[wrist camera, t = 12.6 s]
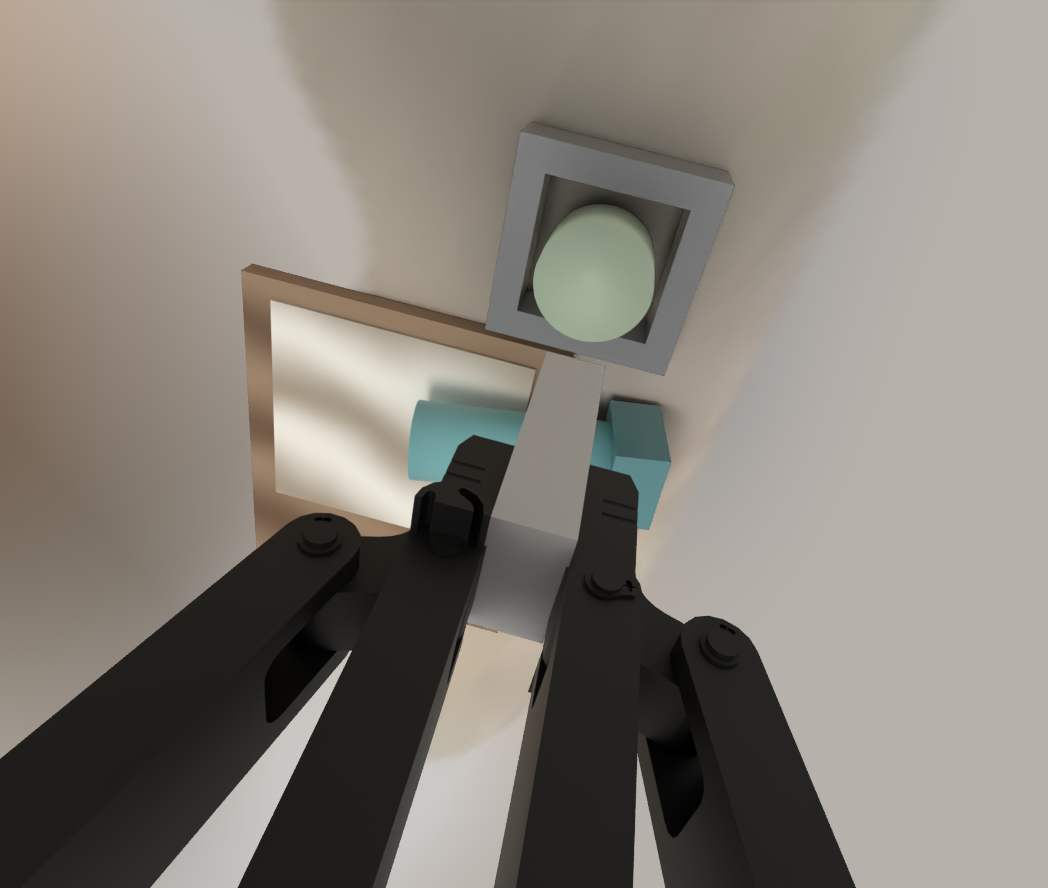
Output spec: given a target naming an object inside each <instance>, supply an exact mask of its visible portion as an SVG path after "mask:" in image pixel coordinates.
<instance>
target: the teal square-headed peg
mask: <svg viewBox="0 0 1048 888" xmlns="http://www.w3.org/2000/svg"><path fill="white" fill-rule="evenodd" d="M525 415H526V412H521V411H513V410H504V409H496V408H487V407H479V406H470V405H461V404H453V403H444V402H436V401H427V400H418V402H417V404H416V407H415V410H414V414H413V419H412V425H411V431H410V438H409V448H408V477H409V479H410V480H415V481H424V482H441V481H442V479H443V477H444V474H445V473H446V470H447V468H448V466H449V464H450V462H451V460H452V458H453V455H454V453H455V451H456V449H457V447H458V445H459V444H461V443H462V442H464V441H465V440H467V439H468V438H469V437H471V436H472V435H477V436H480V437H484V438H488V439H491V440H495V441H499V442H502V443H506V444H510V445H514V446H515V444H516V441H517V438H518V435H519V432H520V429H521V426H522V423H523V421H524V418H525ZM670 464H671V460H670V455H669V449H668V444H667V439H666V434H665V429H664V424H663V419H662V414H661V409H660V406H655V405H647V404H638V403H630V402H621V401H613V400H610V405H609V409H608V413H607V417H606V421H599V420H597V421H596V427H595V434H594V440H593V446H592V453H591V459H590V465H594V466H597V467H601V468H605V469H609V470H612V471H616V472H620V473H623V474H627V475H630V476H631V478H632V480H633V482H634V484H635V486H636V488H637V490H638V492H639V499H638V511H637V512H638V522H637V529H646V530H649V528H650V525H651V522H652V519H653V516H654V513H655V510H656V507H657V504H658V500H659V497H660V494H661V491H662V488H663V485H664V482H665V479H666V476H667V473H668V470H669V467H670Z"/></svg>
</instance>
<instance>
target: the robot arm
mask: <svg viewBox="0 0 1048 888" xmlns="http://www.w3.org/2000/svg"><path fill="white" fill-rule="evenodd" d="M604 370H605V366H602V365H598V364H594V363H590V362H586V361H583V360H579V359H575V358H571V357H568V356H564V355H560V354H556V353H552V352H549V351H547V353H546V356H545V359H544V362H543V365H542V367H541V370H540V373H539V376H538V379H537V382H536V385H535V388H534V391H533V394H532V397H531V400H530V403H529V406H528V409H527V412H526V415H525V418H524V421H523V423H522V426H521V429H520V432H519V435H518V438H517V441H516V444H515V446H514V445H510V444H506V443H502V442H499V441H495V440H491V439H488V438H484V437H480V436H477V435H472V436H471V437H469V438H468V439H467V440H465V441H464V442H462V443H461V444H459V445H458V447H457V449H456V451H455V453H454V455H453V458H452V460H451V462H450V464H449V466H448V468H447V470H446V473H445V474H444V477H443V479H442V481H441V482H433V483H431V484H429V485H427V486H424V487H422V488H421V489H420V490H419V491H418V493H417V494H416V495H415V497H414V504H413V511H412V519H411V526H410V530H409V531H407V532H405V533H402V534H398V535H394V536H383V537H376V536H361V534H360V533H359V531H358V529H357V527H356V526H355V524H353V523H352V522H350V521H349V520H348V519H346V518H345V517H342V516H338V515H335V514H332V513H312V514H308V515H303V516H300V517H298V518H296V519H294V520H293V521H291V522H289V523H288V524H286V525H285V526H284V527H283V528H281V529H280V530H279V531H278V532H277V533H275V534H274V535H273V536H272V537H270V538H269V539H268V540H267V541H266V542H264V543H263V544H262V545H261V546H259V547H258V548H257V549H256V550H255V551H253V552H252V553H251V554H250V555H248V556H247V557H246V558H245V559H244V560H242V561H241V562H240V563H239V564H237V565H236V566H235V567H234V568H233V569H231V570H230V571H229V572H228V573H227V574H225V575H224V576H223V577H222V578H220V580H218V581H217V582H216V583H214V584H213V585H212V586H211V587H210V588H208V589H207V590H206V591H205V592H203V593H202V594H201V595H200V596H198V597H197V598H196V599H195V600H194V601H192V602H191V603H190V604H189V605H187V606H186V607H185V608H184V609H183V610H181V611H180V612H179V613H178V614H176V615H175V616H174V617H173V618H172V619H170V620H169V621H168V622H167V623H165V624H164V625H163V626H162V627H161V628H159V630H157V631H156V632H155V633H153V634H152V635H151V636H150V637H148V638H147V639H146V640H145V641H144V642H142V643H141V644H140V645H139V646H137V647H136V648H135V649H134V650H133V651H131V652H130V653H129V654H128V655H126V656H125V657H124V658H123V659H122V660H120V661H119V662H118V663H117V664H115V665H114V666H113V667H112V668H111V669H109V670H108V671H107V672H106V673H104V674H103V675H102V676H101V677H100V678H99V679H97V680H96V681H95V682H94V683H92V684H91V685H90V686H89V687H88V688H86V689H85V690H84V691H83V692H81V693H80V694H79V695H78V696H76V697H75V698H74V699H73V700H71V701H70V702H69V703H68V704H67V705H65V706H64V707H63V708H62V709H61V710H59V711H58V712H57V713H56V714H55V715H53V716H52V717H51V718H50V719H48V720H47V721H46V722H45V723H43V724H42V725H41V726H40V727H39V728H37V729H36V730H35V731H34V732H32V733H31V734H30V735H29V736H28V737H26V738H25V739H24V740H23V741H21V742H20V743H19V744H18V745H17V746H15V747H14V748H13V749H12V750H10V751H9V752H8V753H7V754H6V755H4V756H3V757H2V758H1V759H0V888H150V887H151V886H152V885H153V884H154V882H155V881H156V880H157V879H158V878H159V877H160V875H161V874H162V873H163V872H164V871H165V869H166V868H167V867H168V866H169V865H170V864H171V862H172V861H173V860H174V859H175V858H176V856H177V855H178V854H179V853H180V852H181V851H182V849H183V848H184V847H185V846H186V845H187V844H188V842H189V841H190V840H191V839H192V838H193V836H194V835H195V834H196V833H197V832H198V831H199V829H200V828H201V827H202V826H203V825H204V823H205V822H206V821H207V820H208V819H209V818H210V816H211V815H212V814H213V813H214V812H215V810H216V809H217V808H218V807H219V806H220V805H221V803H222V802H223V801H224V800H225V799H226V797H227V796H228V795H229V794H230V793H231V792H232V790H233V789H234V788H235V787H236V785H237V784H238V783H239V782H240V781H241V780H242V779H243V777H244V776H245V775H246V774H247V773H248V771H249V770H250V769H251V768H252V767H253V765H254V764H255V763H256V762H257V761H258V760H259V758H260V757H261V756H262V755H263V754H264V753H265V751H266V750H267V749H268V748H269V747H270V745H271V744H272V743H273V742H274V741H275V739H276V738H277V737H278V736H279V735H280V734H281V732H282V731H283V730H284V729H285V728H286V727H287V725H288V724H289V723H290V722H291V721H292V720H293V718H294V717H295V716H296V715H297V714H298V712H299V711H300V710H301V709H302V707H304V705H305V704H306V703H307V702H308V700H309V699H310V698H311V697H312V696H313V695H314V694H315V692H316V691H317V690H318V689H319V688H320V686H321V685H322V684H323V683H324V682H325V680H326V679H327V678H328V677H329V676H330V675H331V673H332V672H333V671H334V670H335V669H336V667H337V666H338V665H339V664H340V663H341V662H342V660H343V659H344V658H345V657H346V656H347V654H348V652H349V651H351V650H352V652H351V654H350V656H349V658H348V660H347V663H346V664H345V667H344V669H343V671H342V673H341V675H340V677H339V679H338V681H337V683H336V685H335V687H334V689H333V691H332V693H331V696H330V698H329V700H328V702H327V704H326V706H325V708H324V710H323V712H322V714H321V716H320V718H319V721H318V722H317V725H316V727H315V729H314V731H313V733H312V735H311V737H310V739H309V741H308V743H307V745H306V748H305V749H304V751H303V754H302V756H301V758H300V760H299V762H298V764H297V766H296V768H295V770H294V772H293V774H292V776H291V779H290V781H289V783H288V785H287V787H286V789H285V791H284V793H283V795H282V797H281V799H280V801H279V803H278V805H277V807H276V809H275V811H274V813H273V816H272V818H271V820H270V822H269V824H268V826H267V828H266V830H265V832H264V834H263V836H262V838H261V840H260V842H259V845H258V847H257V849H256V851H255V853H254V855H253V857H252V859H251V861H250V863H249V865H248V867H247V869H246V871H245V873H244V876H243V878H242V880H241V882H240V884H239V886H238V888H386V885H387V881H388V878H389V875H390V872H391V869H392V865H393V862H394V859H395V855H396V853H397V849H398V846H399V843H400V840H401V837H402V833H403V830H404V827H405V824H406V821H407V817H408V814H409V811H410V808H411V805H412V802H413V798H414V795H415V791H416V789H417V786H418V782H419V779H420V776H421V773H422V769H423V766H424V763H425V760H426V757H427V754H428V750H429V747H430V744H431V741H432V738H433V734H434V731H435V728H436V725H437V722H438V718H439V715H440V712H441V709H442V706H443V702H444V699H445V696H446V693H447V690H448V687H449V683H450V680H451V677H452V674H453V671H454V667H455V664H456V661H457V658H458V655H459V651H460V648H461V644H462V640H463V636H464V631H465V628H466V624H467V623H471V624H475V625H478V626H482V627H485V628H489V629H493V630H496V631H500V632H503V633H507V634H510V635H514V636H518V637H521V638H525V639H528V640H532V641H535V642H539V643H543V641H544V645H543V650H542V653H541V656H540V659H539V662H538V665H537V667H536V670H535V673H534V676H533V679H532V682H531V685H530V688H529V691H528V692H530V693H531V699H530V704H529V709H528V714H527V719H526V725H525V730H524V735H523V741H522V745H521V750H520V756H519V761H518V766H517V771H516V776H515V781H514V787H513V792H512V797H511V803H510V807H509V813H508V818H507V823H506V828H505V833H504V839H503V844H502V849H501V854H500V859H499V865H498V870H497V875H496V880H495V885H494V888H633V868H634V837H635V808H636V777H637V776H636V775H637V753H638V757H639V763H640V767H641V772H642V776H643V782H644V786H645V792H646V796H647V801H648V806H649V811H650V816H651V820H652V825H653V830H654V835H655V840H656V844H657V849H658V854H659V859H660V863H661V869H662V874H663V878H664V883H665V888H856V887H855V884H854V882H853V880H852V877H851V875H850V872H849V870H848V868H847V865H846V863H845V860H844V858H843V856H842V854H841V851H840V848H839V846H838V843H837V841H836V839H835V837H834V834H833V831H832V829H831V827H830V824H829V822H828V819H827V817H826V815H825V812H824V810H823V807H822V805H821V803H820V800H819V798H818V795H817V793H816V791H815V788H814V786H813V783H812V781H811V779H810V776H809V774H808V771H807V769H806V767H805V764H804V762H803V759H802V757H801V755H800V752H799V750H798V747H797V745H796V742H795V740H794V738H793V735H792V733H791V730H790V728H789V726H788V723H787V721H786V719H785V716H784V714H783V711H782V709H781V707H780V704H779V702H778V699H777V697H776V694H775V692H774V690H773V687H772V685H771V682H770V680H769V678H768V675H767V673H766V670H765V668H764V666H763V663H762V661H761V658H760V656H759V654H758V651H757V650H756V648H755V646H754V645H753V643H752V642H751V640H750V638H749V637H747V636H746V635H745V634H744V633H743V632H742V631H741V630H740V629H739V628H738V627H736V626H734V625H732V624H731V623H729V622H727V621H725V620H723V619H719V618H715V617H711V616H700V617H694V618H693V619H691V620H689V621H688V622H686V623H685V624H683V623H681V622H680V621H678V620H676V619H674V618H672V617H671V616H669V615H667V614H665V613H664V612H662V611H661V610H659V609H658V608H656V607H655V606H654V605H653V604H652V603H651V602H650V601H649V600H647V599H646V597H645V596H644V594H643V593H642V590H641V586H640V583H639V582H638V580H637V579H636V574H635V568H636V545H637V522H638V512H637V511H638V499H639V492H638V490H637V488H636V486H635V484H634V482H633V480H632V478H631V476H630V475H627V474H623V473H620V472H616V471H612V470H609V469H605V468H601V467H597V466H594V465H590V459H591V453H592V446H593V440H594V434H595V427H596V421H597V415H598V408H599V402H600V395H601V389H602V383H603V376H604ZM544 638H545V640H544Z"/></svg>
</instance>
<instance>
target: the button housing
mask: <svg viewBox="0 0 1048 888" xmlns="http://www.w3.org/2000/svg"><path fill="white" fill-rule="evenodd" d="M551 175H553V176H557V177H561V178H565V179H569V180H573V181H576V182H580V183H584V184H588V185H592V186H596V187H600V188H604V189H608V190H612V191H616V192H620V193H624V194H628V195H632V196H635V197H639V198H643V199H647V200H651V201H655V202H659V203H663V204H667V205H671V206H675V207H679V208H683V209H684V210H683V213H682V216H681V219H680V222H679V225H678V228H677V231H676V234H675V237H674V240H673V243H672V246H671V249H670V252H669V255H668V258H667V261H666V264H665V267H664V270H663V273H662V276H661V279H660V282H659V285H658V288H657V291H656V294H655V297H654V300H653V303H652V306H651V309H650V312H649V315H648V318H647V321H643V320H641V321H640V322H639V323H638V324H637V325H636V326H635V327H634V328H633V329H631V330H630V331H629V332H627V333H625V334H624V335H622V336H620V337H617V338H615V339H612V340H608V341H603V342H585V341H580V340H576V339H573V338H570V337H568V336H566V335H564V334H562V333H561V332H559V331H558V330H556V329H555V328H554V327H553V326H552V325H551V324H550V323H549V322H548V321H547V320H546V319H545V317H544V316H543V315H542V313H541V311H540V309H539V307H538V305H537V303H536V299H535V296H534V292H532V291H528V290H527V287H528V282H529V277H530V273H531V268H532V263H533V259H534V254H535V249H536V244H537V240H538V235H539V230H540V226H541V221H542V216H543V212H544V207H545V202H546V197H547V193H548V188H549V183H550V179H551ZM734 186H735V185H734V182H733V180H732V178H731V176H730V173H729V172H728V171H724V170H720V169H716V168H712V167H708V166H704V165H700V164H696V163H692V162H688V161H684V160H680V159H676V158H672V157H668V156H664V155H660V154H657V153H653V152H649V151H645V150H641V149H637V148H633V147H629V146H625V145H621V144H617V143H613V142H609V141H605V140H601V139H597V138H593V137H589V136H585V135H581V134H577V133H573V132H569V131H565V130H561V129H557V128H553V127H549V126H545V125H541V124H537V123H534V122H531V123H530V124H529V125H527V126H526V127H525V128H524V129H523V130H521V131H520V137H519V142H518V148H517V153H516V159H515V164H514V170H513V176H512V181H511V187H510V192H509V198H508V203H507V209H506V215H505V220H504V226H503V231H502V237H501V242H500V248H499V254H498V259H497V265H496V270H495V276H494V281H493V287H492V292H491V298H490V304H489V309H488V315H487V320H486V326H485V329H487V330H491V331H494V332H498V333H502V334H506V335H510V336H513V337H517V338H521V339H525V340H529V341H532V342H536V343H540V344H544V345H548V346H551V347H555V348H559V349H563V350H567V351H570V352H574V353H578V354H582V355H586V356H589V357H593V358H597V359H601V360H605V361H608V362H612V363H616V364H620V365H624V366H627V367H631V368H635V369H639V370H643V371H646V372H650V373H654V374H658V375H662V376H664V375H665V372H666V370H667V367H668V364H669V362H670V359H671V356H672V353H673V351H674V348H675V345H676V343H677V340H678V337H679V335H680V332H681V329H682V327H683V324H684V321H685V318H686V316H687V313H688V310H689V308H690V305H691V302H692V300H693V297H694V294H695V292H696V289H697V286H698V283H699V281H700V278H701V275H702V273H703V270H704V267H705V265H706V262H707V259H708V257H709V254H710V251H711V248H712V246H713V243H714V240H715V238H716V235H717V232H718V230H719V227H720V224H721V222H722V219H723V216H724V213H725V211H726V208H727V205H728V203H729V200H730V197H731V195H732V192H733V189H734Z"/></svg>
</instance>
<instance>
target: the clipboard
mask: <svg viewBox="0 0 1048 888" xmlns="http://www.w3.org/2000/svg"><path fill="white" fill-rule="evenodd" d="M241 274H242V292H243V310H244V329H245V348H246V365H247V383H248V403H249V420H250V439H251V457H252V476H253V494H254V513H255V530H256V547H257V548H258V547H259V546H261V545H262V544H263V543H264V542H266V541H267V540H268V539H269V538H270V537H272V536H273V535H274V534H275V533H277V532H278V531H279V530H280V529H281V528H283V527H284V526H285V525H286V524H288V523H289V522H291V521H293V520H294V519H296V518H298V517H300V516H303V515H308V514H312V513H332V514H335V515H338V516H342V517H345V518H346V519H348V520H349V521H350V522H352V523H353V524H355V526H356V527H357V529H358V531H359V533H360V534H361V536H376V537H383V536H394V535H398V534H402V533H405V532H407V531H409V530H410V526H411V519H412V511H413V504H414V497H415V495H416V494H417V493H418V491H419V490H420V489H421V488H422V487H424V486H427V485H429V484H431V483H433V482H424V481H415V480H410V479H409V477H408V448H409V438H410V431H411V425H412V419H413V414H414V410H415V407H416V404H417V402H418V400H427V401H436V402H444V403H453V404H461V405H470V406H479V407H487V408H496V409H504V410H513V411H521V412H527V409H528V406H529V403H530V400H531V397H532V394H533V391H534V388H535V385H536V382H537V379H538V376H539V373H540V370H541V367H542V365H543V362H544V359H545V356H546V353H547V351H549V352H552V353H556V354H560V355H564V356H568V357H571V358H572V357H573V354H574V352H570V351H567V350H563V349H559V348H555V347H551V346H548V345H544V344H540V343H536V342H532V341H529V340H525V339H521V338H517V337H513V336H510V335H506V334H502V333H498V332H494V331H491V330H487V329H485V326H486V325H483V324H480V323H476V322H472V321H468V320H464V319H461V318H457V317H453V316H449V315H445V314H442V313H438V312H434V311H430V310H426V309H423V308H419V307H415V306H411V305H407V304H403V303H400V302H396V301H392V300H388V299H384V298H381V297H377V296H373V295H369V294H365V293H362V292H358V291H354V290H350V289H346V288H343V287H339V286H335V285H331V284H327V283H323V282H319V281H316V280H312V279H308V278H304V277H301V276H297V275H293V274H289V273H285V272H282V271H278V270H274V269H270V268H266V267H262V266H259V265H255V264H251V265H250V266H248V267H246V268H245V269H243V270H242V271H241ZM257 548H256V549H257ZM467 625H470V626H474V627H478V628H481V629H485V630H488V631H492V632H496V633H498V631H496V630H493V629H489V628H485V627H482V626H478V625H475V624H471V623H467Z"/></svg>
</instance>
